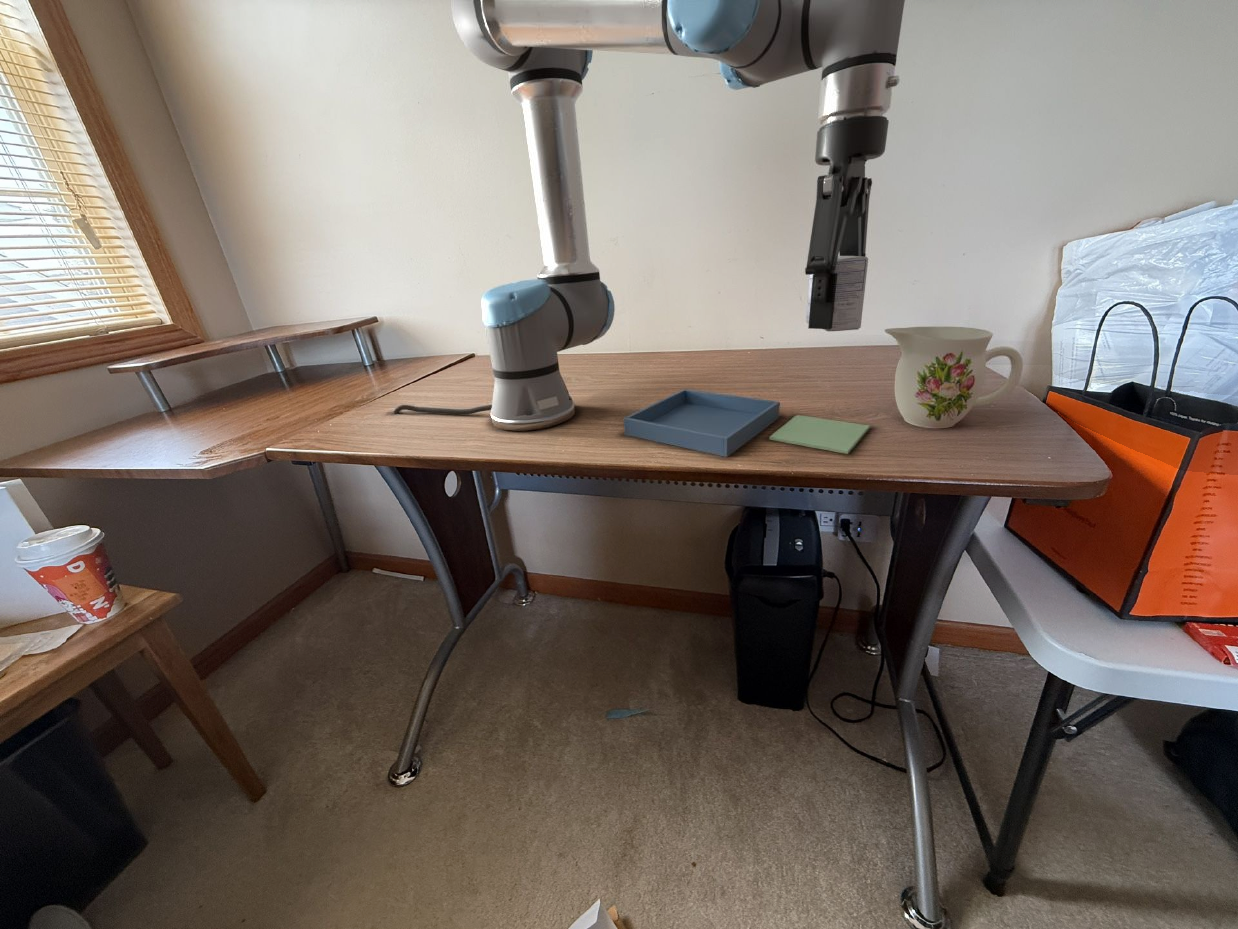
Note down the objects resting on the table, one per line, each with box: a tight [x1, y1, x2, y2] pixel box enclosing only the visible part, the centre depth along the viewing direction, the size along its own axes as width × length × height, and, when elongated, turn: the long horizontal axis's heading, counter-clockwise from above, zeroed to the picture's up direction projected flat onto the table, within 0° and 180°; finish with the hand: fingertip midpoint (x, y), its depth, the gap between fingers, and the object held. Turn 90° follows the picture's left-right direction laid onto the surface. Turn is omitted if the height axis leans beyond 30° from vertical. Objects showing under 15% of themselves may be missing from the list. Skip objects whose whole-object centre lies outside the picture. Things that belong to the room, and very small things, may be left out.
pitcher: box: [884, 326, 1024, 429], centre depth 69 cm, size 11×18×14 cm, turn 74°
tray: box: [623, 388, 781, 458], centre depth 77 cm, size 18×18×3 cm
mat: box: [768, 414, 871, 455], centre depth 71 cm, size 11×11×1 cm
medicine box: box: [805, 255, 869, 332], centre depth 63 cm, size 8×4×9 cm, turn 179°
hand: (831, 322), depth 64 cm, fingers closed on medicine box, 9 cm apart
